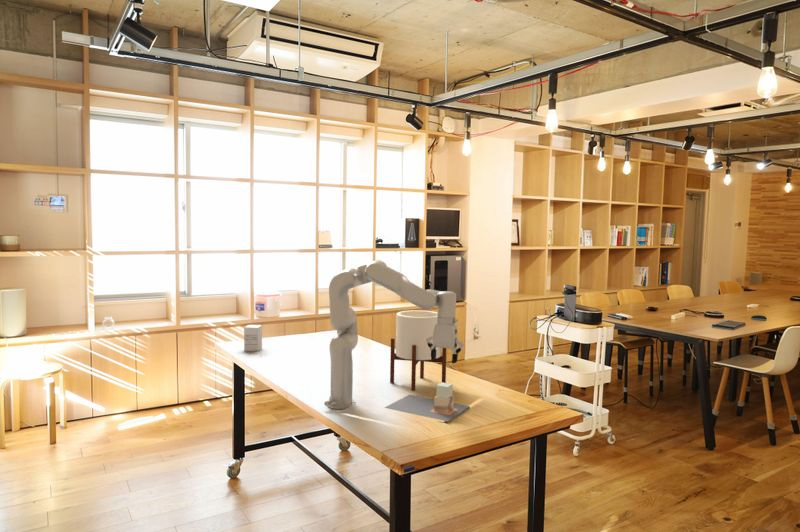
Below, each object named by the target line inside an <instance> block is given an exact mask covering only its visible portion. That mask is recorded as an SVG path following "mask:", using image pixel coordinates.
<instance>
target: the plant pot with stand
mask: <svg viewBox="0 0 800 532" xmlns="http://www.w3.org/2000/svg"><path fill="white" fill-rule="evenodd" d="M395 318H396V319H395V320H396V323H395V326H396V327H395V337H391V338H390V359H389V360H390V365H389V368H390V369H389V370H390V371H389V372H390V373H389V374H390V377H389V384H395V361H410V362H411V381H410V383H411V384H410V387H411V388H410V390H411V391H412V392H416V382H417V381H416V378H417V376H416V375H417V373H416V372H417V369H416V368H417V365H418V363H419V362H420V363H419V364H420V365H419V378H420V379H424V377H425V363H428V362H429V363H440V364H441V383H442V382H443V383H447V381H446V380H447V377H446V376H447V348H441V347H436V348H435V349H436V359H433V360H431V350H430V348H429V346H428V343H427V341H426V339H427V338H429V337H432V336H433V332H434V327H435V324H436V323H437V311H433V310H432V311H431V310H423V309H422V310H420V309H419V310H418V309H417V310H415V309H412V310H402V311H399V312H397V313H396V317H395ZM431 343H432V344H433V339H432V340H431Z"/></svg>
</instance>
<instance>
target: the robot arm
mask: <svg viewBox="0 0 800 532" xmlns="http://www.w3.org/2000/svg"><path fill="white" fill-rule="evenodd" d="M373 282H374V283H375V284H376V285H378V286H380V287H381V286H382V287H383V288H386V289H387V290H389V291H391V292H393V293H395V295H397V296H398V297H401V298H402V299H404V300H406V301H407V302H409V303H411V304H413V305H414V306H417V307H418V308H421V309H422V310H425V311H430V310H432V309H433V308H434V307H437V311H436V312H437V323H436V324H435V327H434V332H433V336H432V337H429V338H427V339H426V341H427V343H428V346H429V348H430V350H431V360H433V359H436V349H435V348H436V347H441V349H442V348H446V350H447V349H449V350H451V351H452V356H451V364H453V365H454V364H456V363H457V361H458V357H459V353H460V352H462V350H463V349H464V347H465V344H464V343H463V342H462V341H460V339H459V333H458V325H457V323H458V322H459V320H458V319H456V310H457V309H456V307H457V294H456V292H455V291H449V290H442V291H441V290H436V289H431V288H430V289H429V288H428V289H424V288H422V287H420V286H418V285H416V284H415V283H413V282H412V281H410V279H408V277H407V276H406V275H405V274H404V273H401V272H399V271H398V270H395V269H393V268H391V267H389V266H387V264H386V262H384V261H382V260H381V259H380V260H378V259H377V260H372V261H371V262H368V263H364V264H361V265H357V266H354V267H350V268H346V269H343V270H341V271H340V272H338V273H336V274H335V275H334V276H333V277H332V279H331V280H330V282H329V286H328V295H329V296H328V297H329V299H328V300H329V318H330V319H329V320H330V325H331V327H332V328H333V329H334V330H336V334H335V335H334V336H333V337H332V338H331V341H330V343H329V356H330V357H329V358H330V396H329V399H328V400H326V401H324V403H323V404H324V405H325V407H328V408H329V409H334V410H345V409H348V408H350V407H353V406H355V405H356V404H357V401H355V399H353V385H354V384H353V383H354V382H353V381H354V380H353V379H354V377H353V375H354V374H353V372H354V368H353V367H354V366H353V365H354V364H353V354H352V353H353V350H354V349H355V348H356V347H357V345H358V342H359V341H358V340H359V336H358V335H359V334H358V320H357V319H358V318H357V314H356V311H355V310H354V309H353V308H352V307H351V306H350V296H349V291H350V289H353V288H357V287H359V286H362V285H366V284H370V283H373ZM432 339H433V344H432V343H431V340H432ZM458 346H459V347H458Z"/></svg>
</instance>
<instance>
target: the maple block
mask: <svg viewBox="0 0 800 532" xmlns="http://www.w3.org/2000/svg"><path fill="white" fill-rule="evenodd" d="M434 399H435V401H434V411H438V412H443V413H449V412H450V411H452V410H453V403H454V402H455V401H454V394H452V396H451V397H449V398H448V399H446V398H440V397H436V395H435V396H434Z"/></svg>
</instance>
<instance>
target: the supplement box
mask: <svg viewBox="0 0 800 532" xmlns="http://www.w3.org/2000/svg"><path fill="white" fill-rule="evenodd" d="M243 332H244V333H243V334H244V335H243V340H244V341H243V343H244V344H243V345H244V347H243V348H244V349H243V351H244V352H259V351H260V350H261V349H262V348H263V326H262V325H261V324H248V325H246V326H244V327H243Z"/></svg>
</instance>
